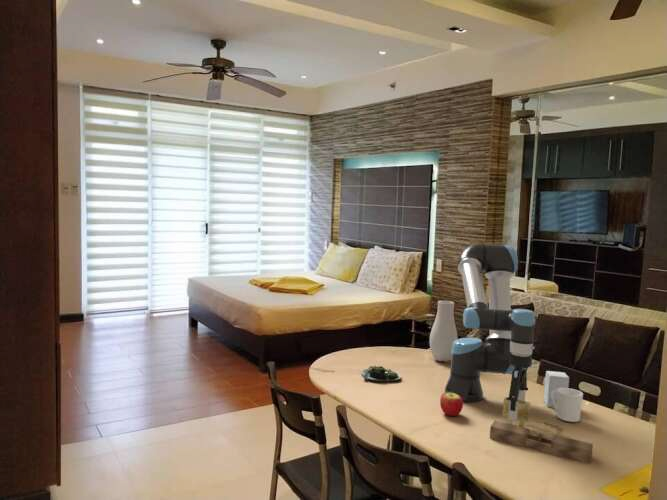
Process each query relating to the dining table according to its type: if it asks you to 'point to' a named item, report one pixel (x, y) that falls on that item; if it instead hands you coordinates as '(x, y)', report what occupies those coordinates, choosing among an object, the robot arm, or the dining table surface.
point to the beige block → (521, 413)
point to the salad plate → (380, 375)
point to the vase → (443, 332)
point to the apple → (451, 403)
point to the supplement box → (554, 385)
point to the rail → (542, 442)
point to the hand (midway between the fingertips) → (516, 413)
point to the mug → (568, 404)
